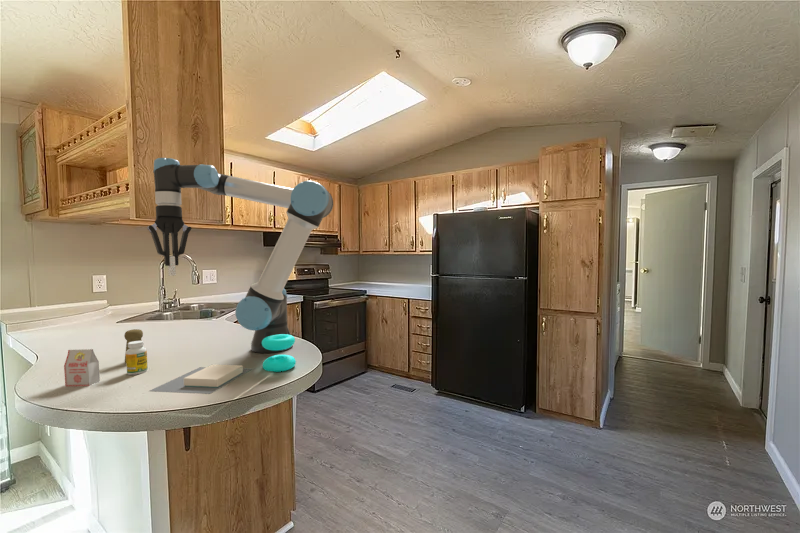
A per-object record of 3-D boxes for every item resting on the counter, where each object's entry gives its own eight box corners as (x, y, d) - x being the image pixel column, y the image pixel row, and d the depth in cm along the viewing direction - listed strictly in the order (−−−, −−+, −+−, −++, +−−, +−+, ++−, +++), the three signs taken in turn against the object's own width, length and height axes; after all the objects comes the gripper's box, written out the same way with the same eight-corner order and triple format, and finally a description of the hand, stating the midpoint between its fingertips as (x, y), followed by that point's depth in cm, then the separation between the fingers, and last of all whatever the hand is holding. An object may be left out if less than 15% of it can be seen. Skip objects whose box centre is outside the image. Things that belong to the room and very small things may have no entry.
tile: (183, 378, 101) (217, 379, 100) (212, 364, 113) (242, 365, 112) (184, 386, 101) (217, 387, 100) (212, 372, 113) (242, 373, 112)
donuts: (255, 340, 113) (271, 333, 123) (256, 372, 113) (272, 362, 123) (286, 341, 111) (300, 333, 121) (287, 373, 112) (301, 363, 122)
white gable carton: (76, 381, 108) (74, 348, 108) (99, 381, 108) (97, 347, 108) (65, 386, 105) (63, 351, 104) (89, 386, 105) (87, 351, 104)
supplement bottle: (136, 369, 119) (135, 339, 118) (152, 369, 118) (150, 339, 118) (122, 375, 113) (120, 344, 113) (138, 375, 113) (136, 344, 112)
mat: (148, 392, 99) (148, 391, 99) (200, 368, 118) (200, 367, 118) (210, 395, 96) (210, 393, 96) (252, 370, 116) (252, 368, 116)
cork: (134, 364, 124) (132, 331, 124) (119, 363, 125) (117, 331, 125) (150, 359, 130) (148, 328, 130) (135, 358, 131) (134, 327, 131)
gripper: (186, 208, 133) (189, 273, 134) (143, 205, 123) (147, 276, 125) (193, 206, 127) (196, 274, 128) (148, 203, 118) (152, 277, 119)
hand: (172, 275), depth 127 cm, fingers closed
